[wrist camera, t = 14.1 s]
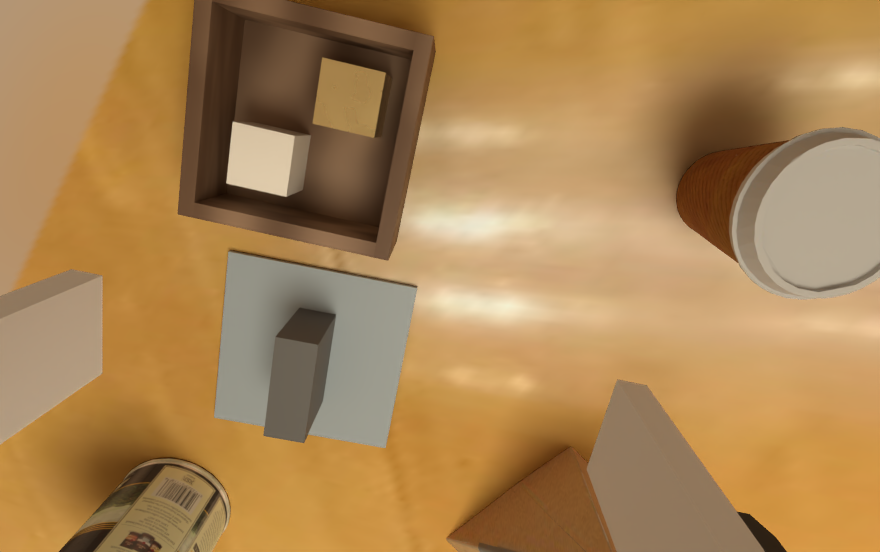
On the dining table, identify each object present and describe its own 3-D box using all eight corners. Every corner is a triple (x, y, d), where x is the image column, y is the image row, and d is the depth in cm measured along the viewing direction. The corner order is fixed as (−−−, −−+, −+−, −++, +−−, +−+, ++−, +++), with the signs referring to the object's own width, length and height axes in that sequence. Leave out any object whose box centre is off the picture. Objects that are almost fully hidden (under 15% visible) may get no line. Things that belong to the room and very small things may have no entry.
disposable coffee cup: (751, 101, 36) (895, 88, 25) (802, 212, 38) (955, 247, 27) (632, 175, 38) (715, 194, 26) (687, 277, 40) (786, 337, 28)
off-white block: (310, 135, 36) (294, 135, 32) (302, 189, 37) (286, 196, 33) (255, 122, 36) (232, 121, 32) (249, 177, 37) (226, 183, 33)
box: (435, 51, 35) (433, 36, 30) (396, 241, 39) (388, 260, 33) (237, 3, 35) (196, -22, 29) (217, 201, 38) (177, 214, 33)
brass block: (392, 78, 35) (385, 72, 31) (381, 137, 36) (373, 137, 32) (335, 65, 35) (322, 57, 31) (326, 124, 36) (312, 123, 32)
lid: (417, 284, 41) (412, 314, 34) (386, 441, 45) (376, 495, 38) (233, 248, 40) (191, 272, 33) (219, 411, 44) (178, 461, 37)
